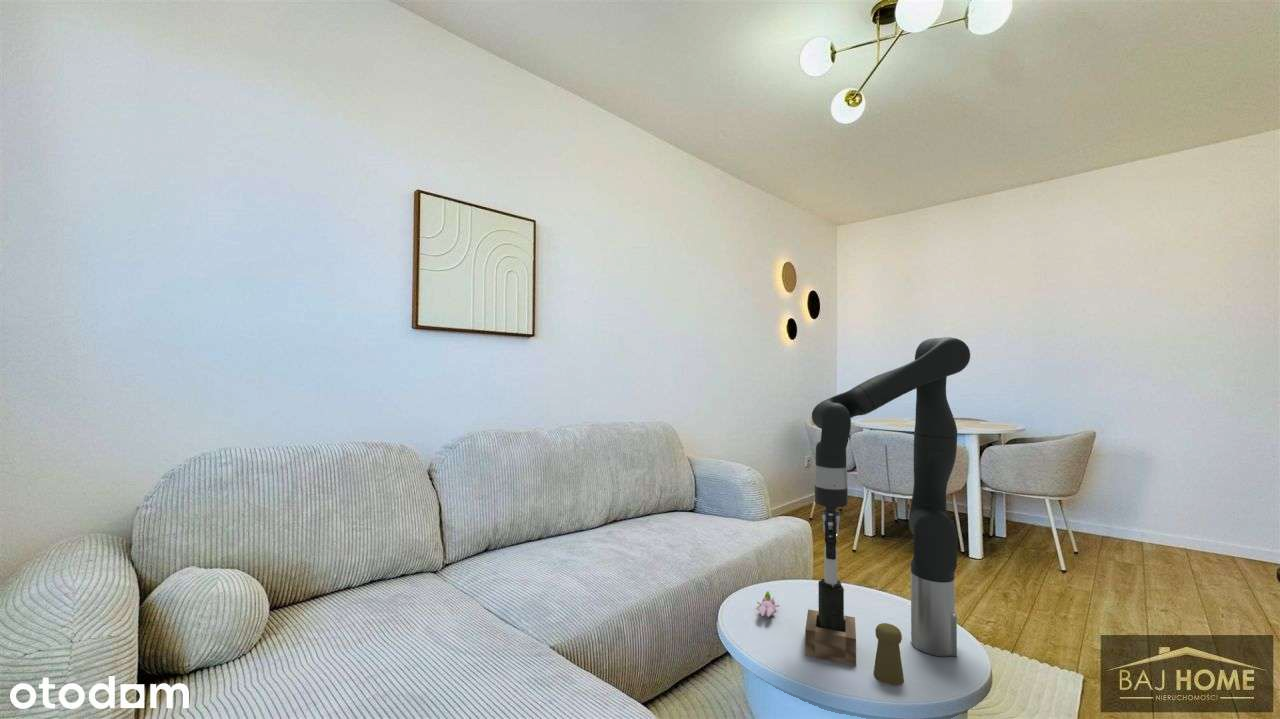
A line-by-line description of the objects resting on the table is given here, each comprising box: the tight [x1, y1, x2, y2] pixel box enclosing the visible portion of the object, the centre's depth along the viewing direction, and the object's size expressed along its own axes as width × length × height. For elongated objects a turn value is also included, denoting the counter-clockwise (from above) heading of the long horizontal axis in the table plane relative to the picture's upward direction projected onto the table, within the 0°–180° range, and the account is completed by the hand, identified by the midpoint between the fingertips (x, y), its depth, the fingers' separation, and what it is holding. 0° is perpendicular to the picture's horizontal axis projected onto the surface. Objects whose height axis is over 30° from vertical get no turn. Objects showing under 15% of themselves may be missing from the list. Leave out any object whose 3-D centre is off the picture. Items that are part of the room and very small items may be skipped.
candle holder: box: [804, 609, 857, 667], centre depth 123 cm, size 11×11×6 cm
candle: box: [818, 535, 845, 632], centre depth 123 cm, size 5×5×25 cm
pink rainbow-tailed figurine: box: [756, 590, 780, 618], centre depth 140 cm, size 6×6×15 cm
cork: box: [873, 622, 905, 687], centre depth 111 cm, size 6×6×11 cm
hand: (831, 556), depth 123 cm, fingers closed on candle, 3 cm apart
